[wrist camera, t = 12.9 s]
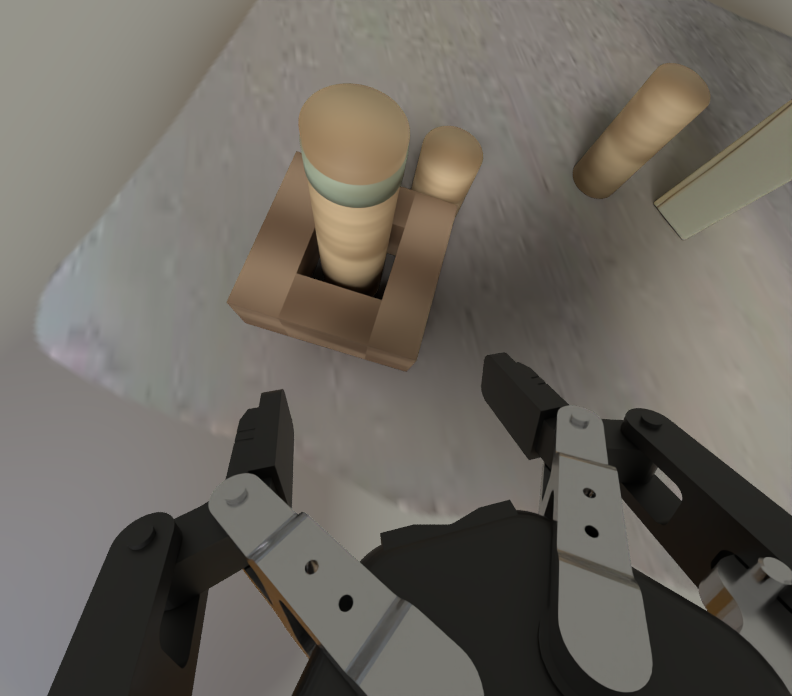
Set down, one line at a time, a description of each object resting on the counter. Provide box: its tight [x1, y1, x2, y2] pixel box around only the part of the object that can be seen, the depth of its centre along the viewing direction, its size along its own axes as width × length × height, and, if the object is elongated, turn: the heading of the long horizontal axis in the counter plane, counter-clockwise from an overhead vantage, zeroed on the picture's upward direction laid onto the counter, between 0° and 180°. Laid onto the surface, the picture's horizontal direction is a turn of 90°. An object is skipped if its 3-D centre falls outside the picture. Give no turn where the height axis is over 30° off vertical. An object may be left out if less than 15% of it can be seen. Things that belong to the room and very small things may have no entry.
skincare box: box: [654, 99, 792, 240], centre depth 24 cm, size 6×4×12 cm
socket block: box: [227, 151, 458, 372], centre depth 22 cm, size 11×11×4 cm
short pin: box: [411, 126, 483, 217], centre depth 24 cm, size 4×4×5 cm
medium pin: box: [573, 63, 710, 199], centre depth 25 cm, size 4×4×8 cm
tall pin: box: [299, 84, 410, 297], centre depth 18 cm, size 4×4×12 cm
